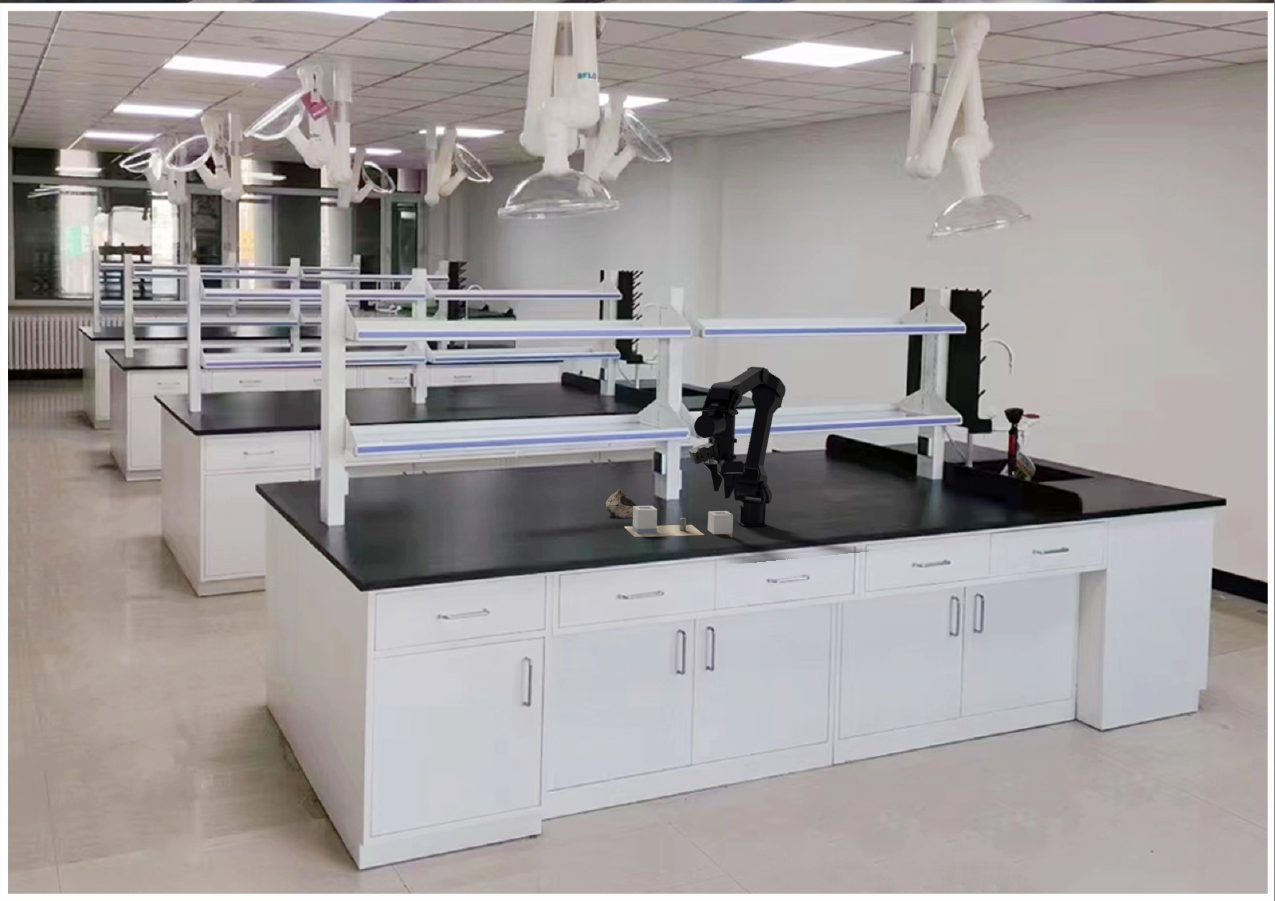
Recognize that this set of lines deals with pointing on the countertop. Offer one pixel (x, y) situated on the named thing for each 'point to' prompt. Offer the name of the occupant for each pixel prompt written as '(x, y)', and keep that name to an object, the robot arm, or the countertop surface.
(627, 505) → the rock
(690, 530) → the pin board
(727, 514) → the banded sleeve
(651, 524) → the seated sleeve
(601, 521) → the countertop surface
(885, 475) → the countertop surface
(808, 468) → the countertop surface
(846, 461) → the countertop surface
